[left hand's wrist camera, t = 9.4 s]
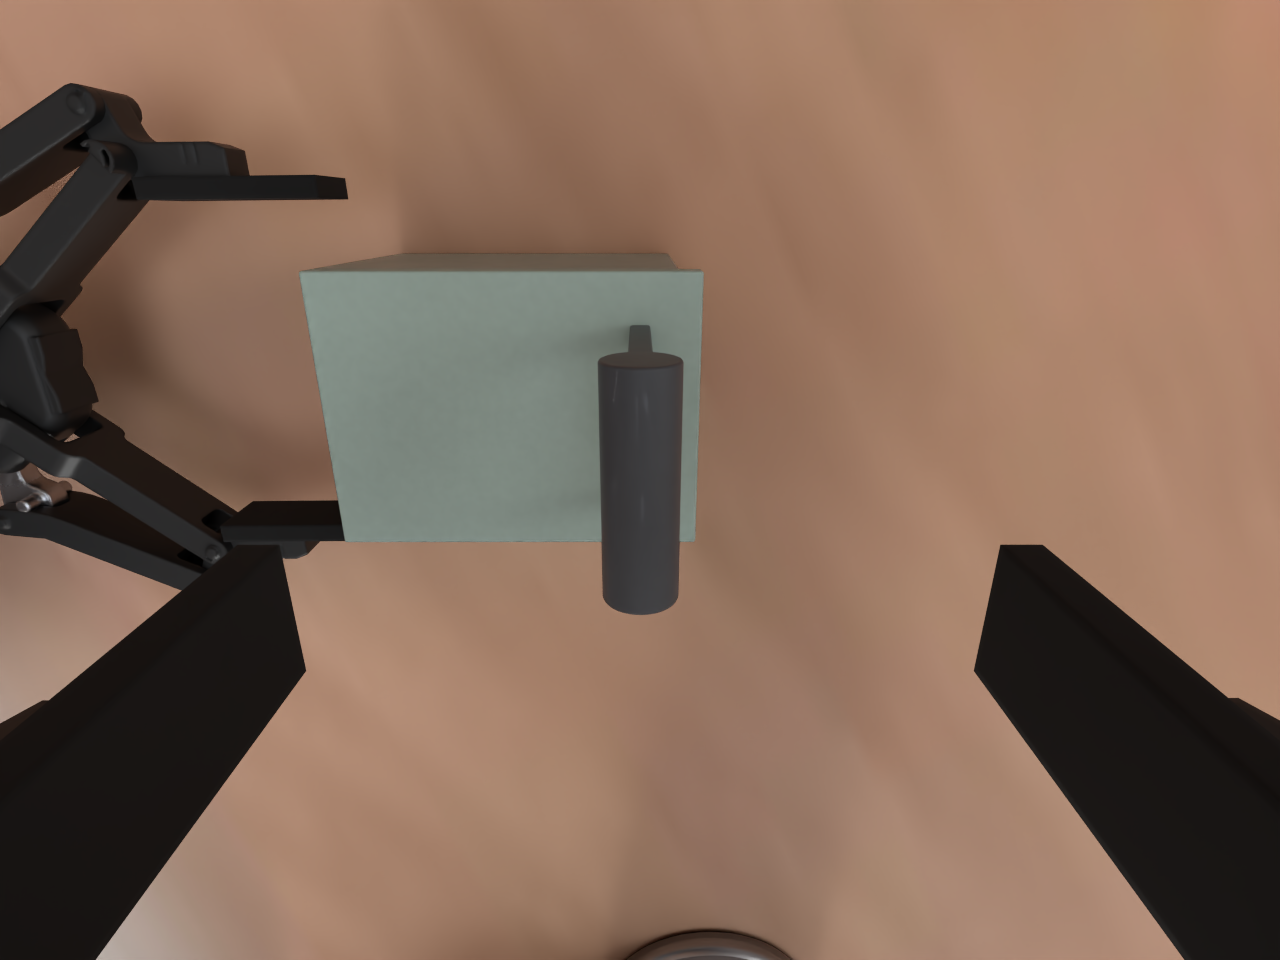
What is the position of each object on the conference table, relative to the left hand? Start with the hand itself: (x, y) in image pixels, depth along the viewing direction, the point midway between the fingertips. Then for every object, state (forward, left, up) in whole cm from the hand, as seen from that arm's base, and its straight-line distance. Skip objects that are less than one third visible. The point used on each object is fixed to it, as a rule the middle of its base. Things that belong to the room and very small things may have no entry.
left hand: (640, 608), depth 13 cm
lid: (-4, +2, -14) cm, 14 cm away
